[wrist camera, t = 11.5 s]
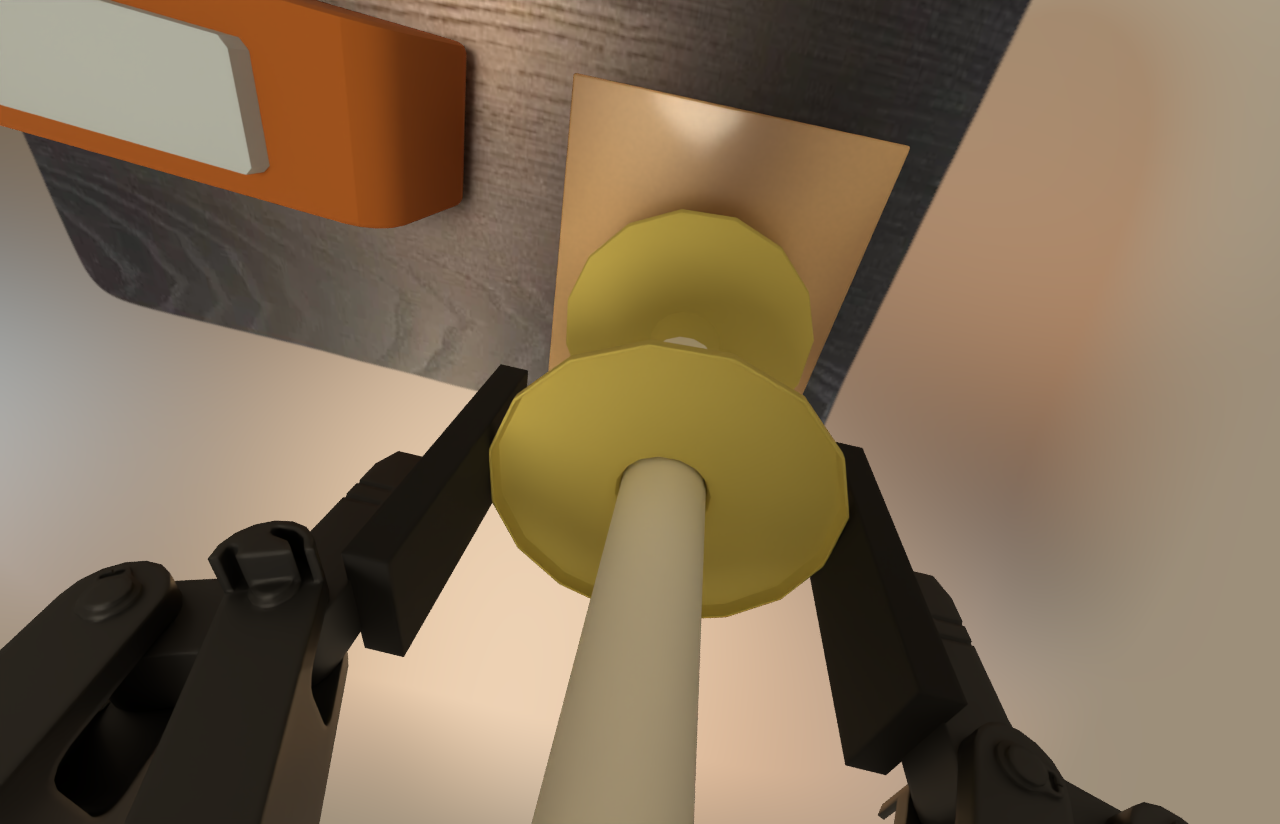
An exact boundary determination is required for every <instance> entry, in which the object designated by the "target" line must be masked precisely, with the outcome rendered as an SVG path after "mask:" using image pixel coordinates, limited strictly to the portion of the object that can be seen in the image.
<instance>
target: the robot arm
mask: <svg viewBox="0 0 1280 824" xmlns="http://www.w3.org/2000/svg"><path fill="white" fill-rule="evenodd" d="M527 378H528V371H527V370H523V369H519V368H515V367H510V366H506V365H502V364H501V365H500V366H499V367H498V368H497V369H496V371H495V372H494V373H493V374H492V375H491V377H490V378H489V379H488V380H487V381H486V382H485V384H484V385H483V386H482V387H481V388H480V389H479V391H478V392H477V393H476V394H475V395H474V397H473V398H472V399H471V400H470V401H469V402H468V404H467V405H466V406H465V407H464V409H463V410H462V411H461V412H460V413H459V414H458V416H457V417H456V418H455V419H454V420H453V421H452V423H451V424H450V425H449V426H448V427H447V428H446V430H445V431H444V432H443V433H442V435H441V436H440V437H439V438H438V439H437V440H436V441H435V443H434V444H433V445H432V446H431V447H430V449H429V450H428V451H427V452H426V453H425V455H424V456H423V457H421V456H417V455H413V454H409V453H404V452H400V451H398V452H396V453H394V454H392V455H390V456H389V457H387V458H385V459H383V460H381V461H379V462H378V463H376V464H375V465H374V466H373V467H372V468H371V469H370V470H369V471H368V472H367V473H366V474H365V475H364V476H363V477H362V478H361V479H360V482H359V484H358V483H357V484H355V486H354V487H353V488H352V489H351V490H350V491H349V492H348V493H347V495H346V497H343V498H342V499H341V500H340V501H339V502H338V503H337V504H336V505H335V506H334V508H332V510H330V512H329V513H328V514H327V515H326V516H325V517H324V518H323V519H322V520H321V521H320V522H319V523H318V524H317V525H316V526H315V527H314V528H313V529H312V530H311V531H309V530H308V529H307V527H305V526H303V525H300V524H298V523H295V522H293V521H291V522H290V521H271V522H266V523H260V524H256V525H253V526H251V527H248V528H246V529H243V530H241V531H239V532H237V533H235V534H233V535H232V536H230V537H229V538H228V539H226V540H225V541H223V542H222V543H221V544H219V545H218V546H217V548H216V549H215V550H214V551H213V553H212V554H211V555H210V557H209V558H208V560H209V563H210V565H211V567H212V569H213V571H214V573H215V575H216V577H217V579H203V580H185V581H174V579H173V577H172V576H171V574H170V573H169V572H168V571H167V570H166V568H165V567H163V565H161V564H157V563H153V562H149V561H138V562H125V563H122V564H119V565H115V566H111V567H107V568H104V569H101V570H100V571H97V572H95V573H93V574H91V575H89V576H87V577H85V578H83V579H81V580H79V581H77V582H76V583H75V584H73V585H72V586H71V587H69V588H68V589H67V590H65V591H64V592H63V593H61V594H60V595H59V596H58V597H57V598H56V599H55V600H53V601H52V602H51V603H50V604H49V605H48V606H47V607H46V608H45V609H44V610H43V611H42V612H41V613H40V614H38V615H37V616H36V617H35V618H34V619H33V620H32V621H31V622H30V623H29V624H28V625H27V626H26V627H25V628H23V630H21V631H20V632H19V633H18V634H17V635H16V636H15V637H14V638H13V639H12V640H11V641H10V642H9V643H7V644H6V645H5V646H4V647H3V648H2V649H1V650H0V824H319V822H320V817H321V811H322V806H323V800H324V795H325V789H326V784H327V779H328V773H329V768H330V762H331V757H332V751H333V745H334V741H335V735H336V730H337V724H338V719H339V714H340V708H341V703H342V697H343V692H344V686H345V681H346V675H347V670H348V653H347V651H348V649H349V648H350V646H351V645H352V643H353V642H354V640H355V639H356V638H357V636H358V634H359V633H360V632H361V634H362V638H363V642H364V646H365V648H368V649H373V650H377V651H381V652H385V653H389V654H393V655H397V656H402V657H404V656H405V654H406V652H407V650H408V649H409V647H410V645H411V644H412V642H413V640H414V638H415V637H416V635H417V633H418V631H419V630H420V628H421V626H422V624H423V623H424V621H425V619H426V617H427V616H428V614H429V612H430V610H431V609H432V607H433V605H434V603H435V602H436V600H437V598H438V597H439V595H440V593H441V591H442V590H443V588H444V586H445V584H446V583H447V581H448V579H449V577H450V576H451V574H452V572H453V570H454V569H455V567H456V565H457V563H458V562H459V560H460V558H461V556H462V555H463V553H464V551H465V549H466V548H467V546H468V544H469V542H470V541H471V539H472V537H473V536H474V534H475V532H476V530H477V528H478V527H479V525H480V523H481V521H482V520H483V518H484V516H485V515H486V513H487V511H488V509H489V507H490V506H491V504H492V496H491V481H490V467H489V448H490V446H491V444H492V442H493V440H494V437H495V435H496V433H497V431H498V429H499V427H500V425H501V423H502V421H503V419H504V417H505V415H506V413H507V411H508V409H509V407H510V405H511V403H512V401H513V399H514V397H515V396H516V395H517V394H518V393H519V392H521V391H522V390H523V389H525V388H526V387H527ZM836 444H837V445H838V446H839V448H840V449H841V451H842V452H843V455H844V458H845V465H846V479H847V493H848V506H849V519H848V521H847V523H846V525H845V527H844V529H843V531H842V533H841V535H840V537H839V539H838V541H837V543H836V545H835V547H834V548H833V550H832V552H831V554H830V556H829V558H828V560H827V561H826V563H825V565H824V566H823V567H822V568H821V569H820V570H819V571H817V572H816V573H815V574H813V575H812V576H811V577H810V580H811V585H812V590H813V596H814V601H815V606H816V612H817V617H818V621H819V627H820V633H821V638H822V643H823V649H824V654H825V659H826V665H827V670H828V675H829V680H830V686H831V691H832V697H833V701H834V707H835V713H836V718H837V723H838V728H839V733H840V738H841V744H842V749H843V754H844V760H845V765H847V766H851V767H855V768H859V769H863V770H867V771H871V772H876V773H879V774H883V775H887V774H888V773H889V772H890V771H891V770H892V769H894V768H895V767H896V766H897V765H898V764H899V763H900V762H902V765H903V768H904V772H905V775H906V779H907V783H908V784H907V785H906V786H905V787H904V788H902V789H901V790H900V791H899V792H897V793H896V794H895V795H893V796H892V797H891V798H890V799H889V800H887V801H886V802H885V803H883V804H882V806H881V809H880V811H879V813H878V816H880V817H881V818H882V819H885V818H887V817H888V816H889V815H891V814H892V813H893V812H895V811H896V814H895V820H894V824H1188V823H1187V822H1186V821H1184V820H1183V819H1182V818H1180V817H1178V816H1177V815H1175V814H1173V813H1172V812H1170V811H1168V810H1166V809H1164V808H1163V807H1161V806H1158V805H1153V804H1149V803H1145V802H1143V803H1140V804H1138V805H1135V806H1133V807H1131V808H1128V809H1126V810H1124V811H1120V810H1118V809H1116V808H1114V807H1113V806H1111V805H1109V804H1107V803H1105V802H1103V801H1102V800H1100V799H1098V798H1096V797H1094V796H1093V795H1091V794H1089V793H1087V792H1085V791H1084V790H1082V789H1080V788H1078V787H1076V786H1075V785H1073V784H1071V783H1069V782H1067V781H1066V780H1064V779H1063V777H1062V776H1061V774H1060V772H1059V771H1058V769H1057V768H1056V766H1055V764H1054V763H1053V761H1052V760H1051V759H1050V758H1049V757H1048V756H1047V754H1046V753H1045V752H1044V751H1043V750H1042V749H1041V748H1040V747H1039V746H1038V745H1037V744H1036V743H1035V742H1033V741H1032V740H1031V739H1030V738H1028V737H1027V736H1026V735H1024V734H1023V733H1022V732H1020V731H1019V730H1017V729H1015V728H1013V727H1012V725H1011V724H1010V722H1009V720H1008V718H1007V716H1006V714H1005V711H1004V709H1003V707H1002V705H1001V703H1000V701H999V699H998V696H997V694H996V692H995V690H994V688H993V686H992V684H991V682H990V679H989V677H988V675H987V673H986V671H985V669H984V667H983V665H982V662H981V660H980V658H979V656H978V654H977V652H976V649H975V647H974V646H972V645H971V642H972V641H971V639H970V637H969V634H968V633H967V630H966V628H965V627H964V626H962V619H961V617H960V615H959V613H958V611H957V609H956V607H955V605H954V602H953V600H952V598H951V597H950V596H949V595H948V593H947V592H946V591H945V590H944V589H943V587H942V586H941V585H940V584H939V583H938V582H937V580H936V579H935V578H934V577H933V576H931V575H927V574H922V573H918V572H914V571H913V569H912V567H911V565H910V562H909V560H908V557H907V555H906V552H905V550H904V548H903V545H902V543H901V540H900V538H899V536H898V533H897V531H896V528H895V526H894V523H893V521H892V518H891V516H890V514H889V511H888V509H887V506H886V504H885V501H884V499H883V497H882V494H881V492H880V490H879V487H878V484H877V482H876V480H875V477H874V475H873V472H872V470H871V467H870V465H869V463H868V460H867V458H866V455H865V453H864V451H863V449H862V448H860V447H856V446H851V445H847V444H843V443H838V442H836Z"/></svg>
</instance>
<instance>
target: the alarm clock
mask: <svg viewBox="0 0 1280 824" xmlns="http://www.w3.org/2000/svg"><path fill="white" fill-rule="evenodd" d="M465 90H466V51H465V47H464V46H463V45H462V44H460V43H459V42H457V41H454V40H451V39H448V38H444V37H441V36H437V35H434V34H431V33H427V32H424V31H420V30H417V29H413V28H410V27H406V26H403V25H400V24H396V23H393V22H389V21H386V20H382V19H379V18H375V17H372V16H368V15H365V14H362V13H358V12H355V11H351V10H348V9H344V8H341V7H337V6H334V5H331V4H327V3H324V2H320V1H317V0H0V125H1V126H5V127H8V128H12V129H15V130H19V131H22V132H26V133H29V134H33V135H36V136H40V137H43V138H47V139H50V140H54V141H57V142H61V143H64V144H68V145H71V146H75V147H78V148H82V149H85V150H89V151H92V152H96V153H99V154H103V155H106V156H110V157H113V158H117V159H120V160H124V161H127V162H131V163H135V164H138V165H142V166H145V167H149V168H152V169H156V170H159V171H163V172H166V173H170V174H173V175H177V176H180V177H184V178H187V179H191V180H194V181H198V182H201V183H205V184H208V185H212V186H215V187H219V188H222V189H226V190H229V191H233V192H236V193H240V194H243V195H247V196H250V197H254V198H257V199H261V200H264V201H268V202H271V203H275V204H278V205H282V206H285V207H289V208H292V209H296V210H299V211H303V212H306V213H310V214H314V215H317V216H321V217H324V218H328V219H331V220H335V221H338V222H342V223H345V224H350V225H354V226H359V227H367V228H394V227H399V226H403V225H407V224H409V223H412V222H414V221H417V220H420V219H422V218H425V217H427V216H430V215H433V214H435V213H438V212H440V211H443V210H446V209H448V208H451V207H454V206H456V205H458V204H459V203H460V202H461V200H462V198H463V166H464V128H465Z"/></svg>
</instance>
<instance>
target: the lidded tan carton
mask: <svg viewBox="0 0 1280 824" xmlns="http://www.w3.org/2000/svg"><path fill="white" fill-rule="evenodd" d="M909 150H910V147H909V146H907V145H902V144H898V143H893V142H889V141H884V140H880V139H875V138H871V137H866V136H861V135H857V134H852V133H848V132H843V131H839V130H834V129H830V128H825V127H820V126H816V125H811V124H807V123H802V122H798V121H793V120H788V119H784V118H779V117H775V116H770V115H766V114H761V113H756V112H752V111H747V110H743V109H738V108H734V107H729V106H724V105H720V104H715V103H711V102H706V101H702V100H697V99H693V98H688V97H683V96H679V95H674V94H670V93H665V92H661V91H656V90H651V89H647V88H642V87H638V86H633V85H629V84H624V83H619V82H615V81H610V80H606V79H601V78H596V77H592V76H587V75H583V74H578V73H575V74H574V77H573V89H572V100H571V112H570V124H569V136H568V148H567V159H566V171H565V183H564V195H563V206H562V218H561V230H560V242H559V254H558V265H557V277H556V289H555V301H554V313H553V324H552V336H551V348H550V360H549V371H550V370H552V369H553V368H554V367H556V366H557V365H559V364H560V363H561V362H563V361H564V360H566V359H567V358H568V357H570V356H571V355H570V353H569V350H568V347H567V345H566V331H567V305H568V297H569V295H570V293H571V291H572V289H573V287H574V285H575V283H576V281H577V279H578V277H579V275H580V273H581V271H582V269H583V267H584V265H585V263H586V261H587V259H588V257H589V256H590V255H591V254H592V253H593V252H595V251H596V250H597V249H598V248H599V247H601V246H602V245H603V244H604V243H606V242H607V241H608V240H609V239H610V238H612V237H613V236H614V235H615V234H617V233H618V232H619V231H620V230H622V229H623V228H624V227H625V226H626V225H628V224H629V223H632V222H635V221H639V220H643V219H646V218H650V217H654V216H658V215H661V214H665V213H669V212H672V211H676V210H680V209H685V210H691V211H698V212H704V213H710V214H717V215H723V216H730V217H736V218H738V219H739V220H741V221H743V222H744V223H746V224H747V225H749V226H750V227H752V228H753V229H755V230H756V231H758V232H759V233H761V234H762V235H764V236H765V237H767V238H768V239H770V240H771V241H773V242H774V243H776V244H778V245H779V246H781V247H782V248H783V250H784V252H785V253H786V255H787V257H788V258H789V260H790V262H791V263H792V265H793V266H794V268H795V270H796V271H797V273H798V275H799V276H800V278H801V280H802V281H803V283H804V285H805V286H806V288H807V289H808V291H809V296H810V306H811V316H812V326H813V336H814V342H813V344H812V347H811V350H810V353H809V356H808V359H807V361H806V364H805V367H804V370H803V373H802V376H801V379H800V381H799V384H798V385H797V386H796V387H795V388H794V390H795V391H797V392H799V393H800V394H803V392H804V390H805V388H806V385H807V383H808V381H809V378H810V376H811V374H812V372H813V369H814V367H815V365H816V362H817V360H818V358H819V356H820V353H821V351H822V349H823V346H824V344H825V342H826V340H827V337H828V335H829V333H830V330H831V328H832V326H833V324H834V321H835V319H836V317H837V314H838V312H839V310H840V308H841V305H842V303H843V301H844V298H845V296H846V294H847V292H848V289H849V287H850V285H851V282H852V280H853V278H854V276H855V273H856V271H857V269H858V266H859V264H860V262H861V260H862V257H863V255H864V253H865V250H866V248H867V246H868V244H869V241H870V239H871V237H872V234H873V232H874V230H875V228H876V225H877V223H878V221H879V218H880V216H881V214H882V212H883V209H884V207H885V205H886V202H887V200H888V198H889V196H890V193H891V191H892V189H893V186H894V184H895V182H896V180H897V177H898V175H899V173H900V170H901V168H902V166H903V164H904V161H905V159H906V157H907V154H908V152H909Z"/></svg>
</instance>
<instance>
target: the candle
mask: <svg viewBox="0 0 1280 824" xmlns="http://www.w3.org/2000/svg"><path fill="white" fill-rule="evenodd" d="M813 342H814V336H813V326H812V316H811V306H810V296H809V291H808V289H807V288H806V286H805V285H804V283H803V281H802V280H801V278H800V276H799V275H798V273H797V271H796V270H795V268H794V266H793V265H792V263H791V262H790V260H789V258H788V257H787V255H786V253H785V252H784V250H783V248H782V247H781V246H779V245H778V244H776V243H774V242H773V241H771V240H770V239H768V238H767V237H765V236H764V235H762V234H761V233H759V232H758V231H756V230H755V229H753V228H752V227H750V226H749V225H747V224H746V223H744V222H743V221H741V220H739V219H738V218H736V217H730V216H723V215H717V214H710V213H704V212H698V211H691V210H685V209H680V210H676V211H672V212H669V213H665V214H661V215H658V216H654V217H650V218H646V219H643V220H639V221H635V222H632V223H629V224H628V225H626V226H625V227H624V228H623V229H622V230H620V231H619V232H618V233H617V234H615V235H614V236H613V237H612V238H610V239H609V240H608V241H607V242H606V243H604V244H603V245H602V246H601V247H599V248H598V249H597V250H596V251H595V252H593V253H592V254H591V255H590V256H589V257H588V259H587V261H586V263H585V265H584V267H583V269H582V271H581V273H580V275H579V277H578V279H577V281H576V283H575V285H574V287H573V289H572V291H571V293H570V295H569V297H568V305H567V331H566V345H567V347H568V350H569V353H570V355H571V356H570V357H568V358H567V359H566V360H564V361H563V362H561V363H560V364H559V365H557V366H556V367H554V368H553V369H552V370H550V371H549V372H547V373H546V374H544V375H543V376H542V377H540V378H539V379H537V380H536V381H535V382H533V383H532V384H530V385H529V386H528V387H526V388H525V389H523V390H522V391H521V392H519V393H518V394H517V395H516V396H515V397H514V399H513V401H512V403H511V405H510V407H509V409H508V411H507V413H506V415H505V417H504V419H503V421H502V423H501V425H500V427H499V429H498V431H497V433H496V435H495V437H494V440H493V442H492V444H491V446H490V448H489V467H490V481H491V496H492V503H493V505H494V506H495V508H496V510H497V512H498V513H499V515H500V517H501V519H502V521H503V522H504V524H505V526H506V528H507V530H508V531H509V533H510V535H511V537H512V538H513V540H514V542H515V544H516V545H517V547H518V548H519V549H520V550H521V551H522V552H523V553H524V554H526V555H527V556H528V557H529V558H530V559H531V560H532V561H533V562H535V563H536V564H537V565H538V566H539V567H540V568H541V569H543V570H544V571H545V572H546V573H547V574H548V575H550V576H551V577H552V578H553V579H554V580H555V581H557V582H558V583H559V584H561V585H563V586H565V587H567V588H569V589H571V590H573V591H575V592H577V593H579V594H581V595H584V596H586V597H588V598H590V603H589V607H588V611H587V615H586V618H585V622H584V627H583V630H582V634H581V637H580V641H579V645H578V649H577V653H576V656H575V660H574V664H573V668H572V672H571V675H570V679H569V683H568V687H567V691H566V695H565V698H564V702H563V706H562V710H561V714H560V717H559V721H558V725H557V729H556V733H555V737H554V741H553V744H552V748H551V752H550V756H549V759H548V763H547V767H546V771H545V775H544V779H543V782H542V786H541V790H540V794H539V797H538V801H537V805H536V809H535V813H534V817H533V820H532V824H694V803H695V802H694V801H695V776H696V748H697V720H698V694H699V666H700V664H699V663H700V639H701V638H700V637H701V618H719V617H720V618H722V617H728V616H732V615H734V614H738V613H741V612H744V611H747V610H750V609H753V608H756V607H759V606H762V605H765V604H769V603H772V602H774V601H778V600H781V599H782V598H783V597H784V596H786V595H787V594H789V593H790V592H791V591H792V590H794V589H795V588H796V587H798V586H799V585H800V584H802V583H803V582H804V581H805V580H807V579H808V578H809V577H811V576H812V575H813V574H815V573H816V572H817V571H819V570H820V569H821V568H822V567H823V566H824V565H825V563H826V561H827V560H828V558H829V556H830V554H831V552H832V550H833V548H834V547H835V545H836V543H837V541H838V539H839V537H840V535H841V533H842V531H843V529H844V527H845V525H846V523H847V521H848V519H849V506H848V493H847V479H846V465H845V458H844V455H843V452H842V451H841V449H840V448H839V446H838V445H837V444H836V442H835V441H834V439H833V438H832V436H831V435H830V433H829V432H828V430H827V429H826V427H825V426H824V424H823V423H822V421H821V420H820V418H819V417H818V416H817V414H816V413H815V411H814V410H813V408H812V407H811V405H810V404H809V402H808V401H807V399H806V398H805V396H804V395H802V394H800V393H799V392H797V391H795V390H794V388H795V387H796V386H797V385H798V384H799V381H800V379H801V376H802V373H803V370H804V367H805V364H806V361H807V359H808V356H809V353H810V350H811V347H812V344H813Z"/></svg>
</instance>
